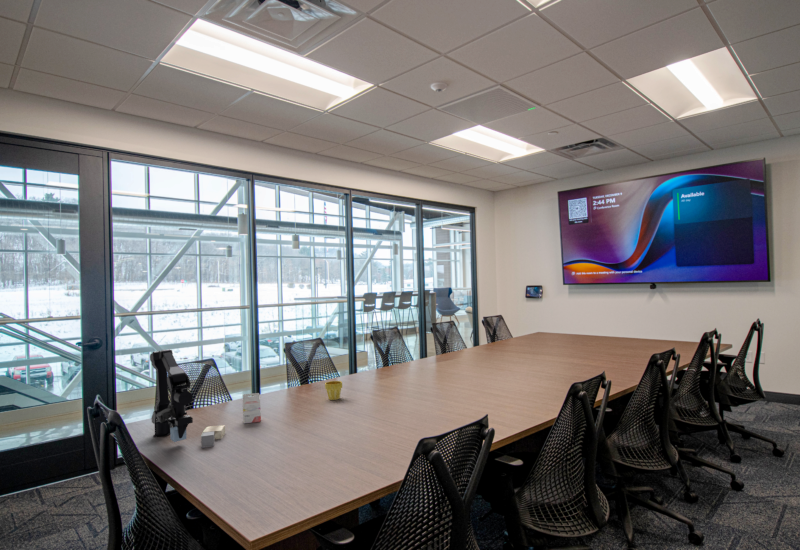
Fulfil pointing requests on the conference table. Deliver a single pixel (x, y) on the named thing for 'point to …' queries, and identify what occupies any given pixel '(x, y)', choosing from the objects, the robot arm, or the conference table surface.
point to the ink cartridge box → (251, 408)
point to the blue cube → (176, 434)
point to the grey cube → (207, 439)
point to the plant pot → (333, 389)
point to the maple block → (216, 431)
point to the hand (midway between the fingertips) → (178, 436)
